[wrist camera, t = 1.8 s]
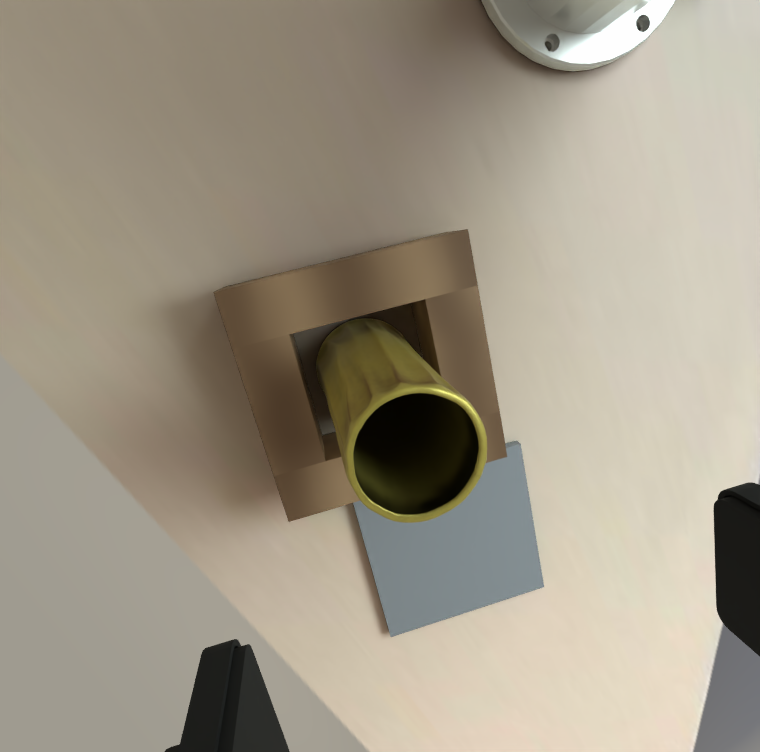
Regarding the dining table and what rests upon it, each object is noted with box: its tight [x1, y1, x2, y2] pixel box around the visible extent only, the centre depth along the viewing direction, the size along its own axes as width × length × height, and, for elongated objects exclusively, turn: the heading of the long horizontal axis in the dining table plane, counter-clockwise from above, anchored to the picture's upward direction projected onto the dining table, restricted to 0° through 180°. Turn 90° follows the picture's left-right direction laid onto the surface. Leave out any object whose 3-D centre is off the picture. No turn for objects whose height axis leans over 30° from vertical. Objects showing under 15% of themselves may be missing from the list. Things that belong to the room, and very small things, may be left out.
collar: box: [214, 229, 507, 522], centre depth 29 cm, size 14×14×4 cm
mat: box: [353, 441, 544, 637], centre depth 35 cm, size 12×12×1 cm
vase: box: [316, 318, 487, 523], centre depth 24 cm, size 6×6×14 cm
